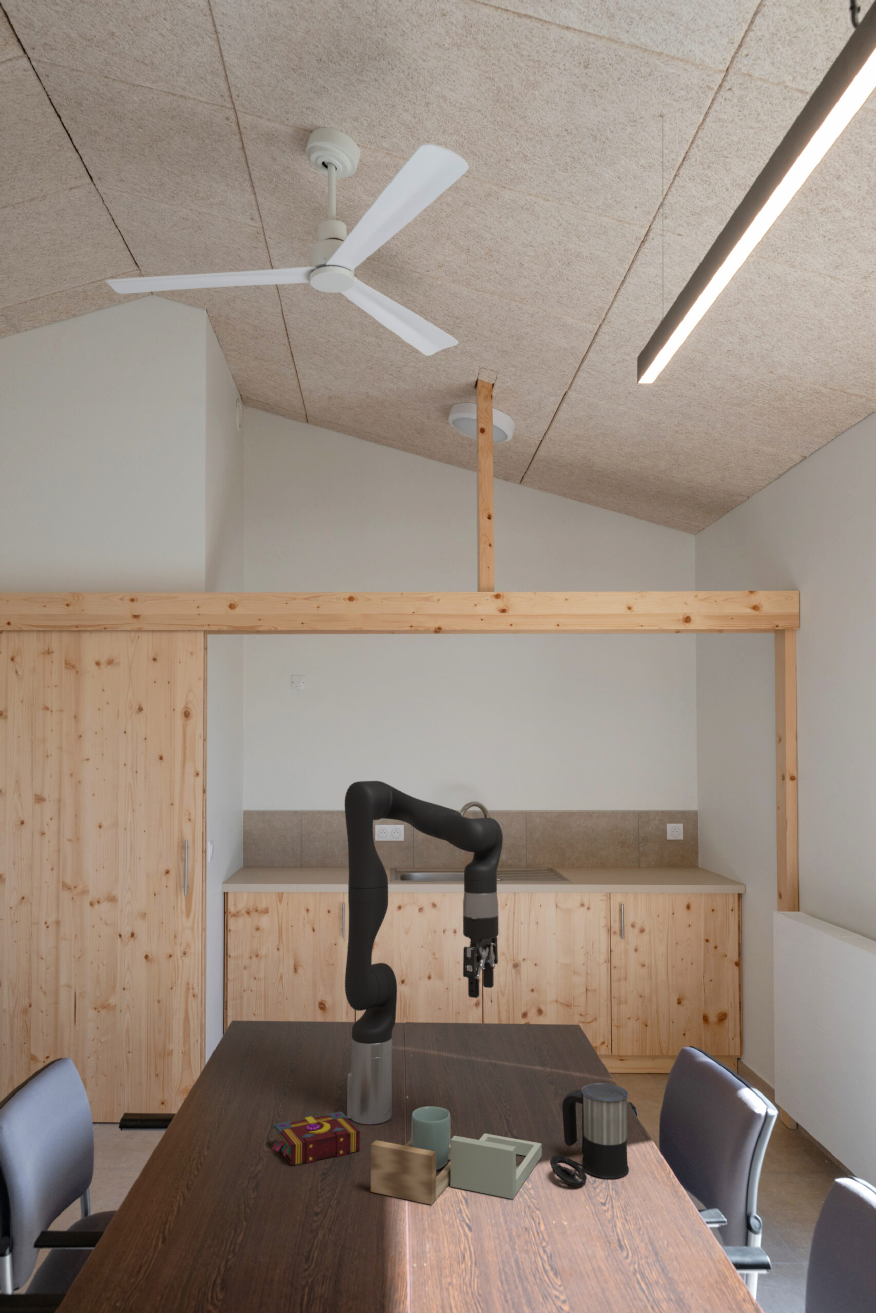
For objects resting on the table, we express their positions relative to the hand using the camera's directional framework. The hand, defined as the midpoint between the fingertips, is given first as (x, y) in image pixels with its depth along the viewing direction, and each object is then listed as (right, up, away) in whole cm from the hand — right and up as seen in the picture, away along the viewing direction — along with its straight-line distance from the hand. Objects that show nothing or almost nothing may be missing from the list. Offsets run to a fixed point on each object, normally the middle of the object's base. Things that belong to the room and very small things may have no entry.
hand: (481, 992), depth 187 cm
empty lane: (+3, -31, -12) cm, 33 cm away
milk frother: (+21, -31, -13) cm, 40 cm away
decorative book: (-35, -32, -2) cm, 48 cm away
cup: (-11, -31, -10) cm, 34 cm away
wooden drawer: (-12, -31, -14) cm, 36 cm away
